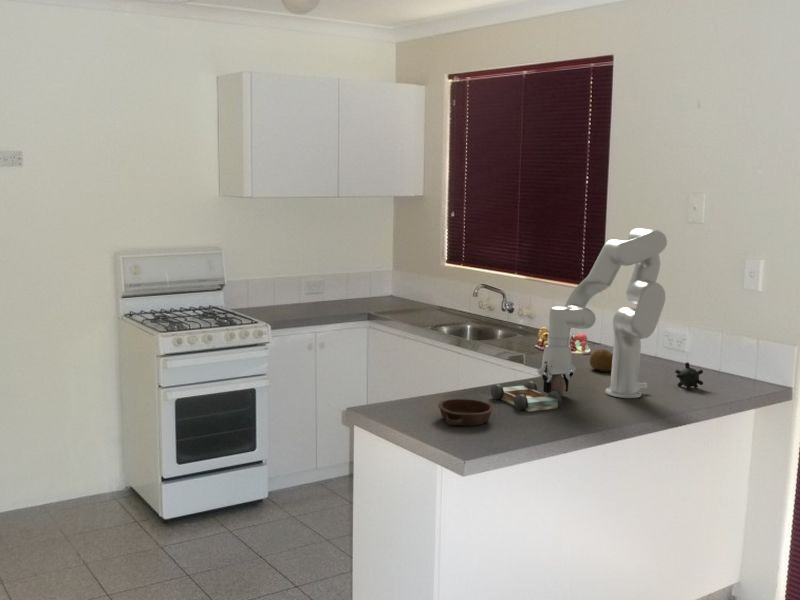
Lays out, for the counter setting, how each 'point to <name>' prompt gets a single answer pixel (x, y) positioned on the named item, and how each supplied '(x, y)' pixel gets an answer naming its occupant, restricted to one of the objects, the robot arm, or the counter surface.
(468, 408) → the dish
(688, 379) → the toy ball
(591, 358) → the potato
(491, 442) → the counter surface
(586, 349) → the pastel sphere sculpture
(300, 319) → the counter surface
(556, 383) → the brown ovoid
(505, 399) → the cart chassis
